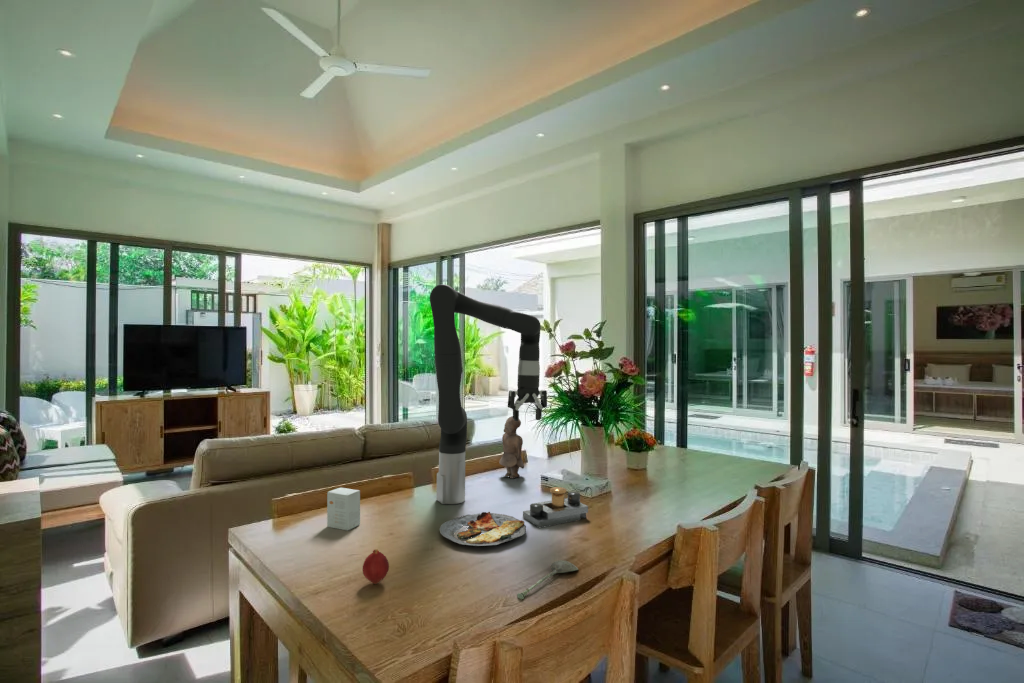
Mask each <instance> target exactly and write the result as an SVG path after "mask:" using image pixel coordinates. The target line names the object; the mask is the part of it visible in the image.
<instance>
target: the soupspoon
mask: <svg viewBox="0 0 1024 683" xmlns="http://www.w3.org/2000/svg"><path fill="white" fill-rule="evenodd" d="M550 568H551V570H552V571H551V572H549V573H547V574H546V575H544V576H542V578H540V579H539V580H538V581H536V582H535V583H534V584H532V585H531V586H530V587H529V588H526V589H525V590H524V591H522V592H518V593H517V594H516V596H517V597H516V598H518V599H520V600H522V599H525V596H527V594H528V593H530V591H532V590H533V589H535V588H536V587H537V586H539V585H540V584H542V583H543V582H544V581H546V580H547V579H549V578H550V577H552V576H554V575H556V574H562V573H570V572H575V571H579V568H578V567H577V566H576V564H573V563H572V562H571V561H567V560H562V559H561V560H555V561H553V562H551V563H550Z"/></svg>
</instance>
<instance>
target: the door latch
mask: <svg viewBox="0 0 1024 683" xmlns="http://www.w3.org/2000/svg"><path fill="white" fill-rule="evenodd" d="M587 513H589V506H588V505H586V504H584V503H582V502H581V493H580V492H579V491H568V492H567V498H565V497H564V508H560V509H554V510H552V500H547V501H546V500H545V501H540V502H534V503H530V505H529V510H523V511H522V518H523V519H524V518H525V520H526V521H528V522H530V523H531V524H532V523H533V524H532V525H534V526H535V525H536V526H535V527H537V526H538V527H537V528H539V527H541V528H545V527H544V526H546V527H550V526H549V525H552V526H556V525H555V524H557V525H560V524H561V523H562V524H567V523H566V522H568V523H572V522H571V521H573V522H577V521H576V520H579V521H580V520H581V519H580V518H583V519H587ZM562 524H561V525H562Z"/></svg>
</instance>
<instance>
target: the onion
mask: <svg viewBox="0 0 1024 683" xmlns="http://www.w3.org/2000/svg"><path fill="white" fill-rule="evenodd" d="M389 569H390V564H389V561H388V558H387V556H385V555H384V553H382V552H381V551H380V550H378V549H377V548H374V549H373V550H372V553H370V554H368V556H366V557H365V559H364V561H363V564H362V574H363V576H364V578H365V579H366V580H368V581H369V582H371V583H372V584H374V585H377V584H379V583H380V582H381V581H382V580H384V578H385V577H386V576H387V574H388V572H389Z"/></svg>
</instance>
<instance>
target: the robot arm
mask: <svg viewBox="0 0 1024 683" xmlns="http://www.w3.org/2000/svg"><path fill="white" fill-rule="evenodd" d="M429 303H430V308H431V315H432V322H433V340H434V341H433V344H434V348H433V349H434V364H435V365H434V367H435V374H436V383H437V390H438V413H437V423H438V426H439V428H440V439H439V444H438V472H436V496H435V497H436V499H435V500H436V501H437V502H439V503H440V504H441V505H456V504H462V503H465V501H466V451H467V450H466V448H467V441H468V440H467V439H468V438H467V436H468V417H467V416H468V414H467V412H466V410H465V409H464V408H463V406H462V401H461V381H462V373H463V372H462V371H463V370H462V369H463V361H462V350H461V348H462V347H461V344H460V340H459V335H458V332H457V329H456V322H455V321H456V317H455V314H461V315H465V316H469V317H472V318H474V319H477V320H480V321H482V322H485V323H487V324H490V325H493V326H495V327H498V328H502V329H507V330H510V331H514V332H515V333H519V334H520V346H519V352H518V360H519V361H518V365H517V389H516V390H511V389H510V390H509V391H508V398H507V407H508V409H509V408H510V409H511V410H512V416H513V419H514V421H519V419H520V418H519V417H520V410H519V409H520V408H521V406H523V404H533V405H534V407H535V420H537V421H540V420H541V419H542V414H543V412H542V410H543V409H544V408H547V407H548V393H547V392H548V391H547V390H545V389H541V390H540V389H539V387H540V377H541V376H540V375H541V374H540V373H541V372H540V370H541V369H540V368H541V367H540V341H541V340H540V337H541V327H542V326H541V322H540V320H539V319H538V317H536V316H533V315H532V314H531V315H530V314H527V313H523V312H520V311H519V312H518V311H516V310H513V309H510V308H508V307H505V306H502V305H499V304H495V303H491V302H487V301H484V300H483V301H482V300H478V299H476V298H475V299H474V298H473V297H469V296H467V295H465V294H464V293H461V292H459V291H457V290H456V289H455V288H454V287H452V286H450V285H449V284H438V285H436V286H434V287H433V289H432V290H431V291H430V294H429ZM516 397H517V399H515V398H516ZM538 397H540V400H539V398H538Z"/></svg>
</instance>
